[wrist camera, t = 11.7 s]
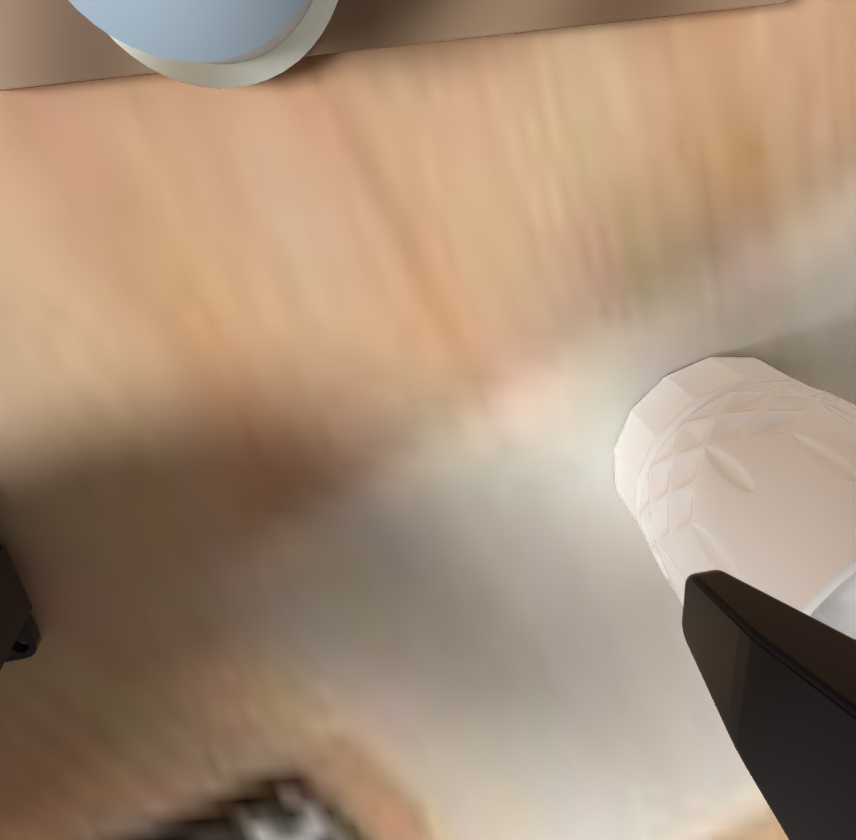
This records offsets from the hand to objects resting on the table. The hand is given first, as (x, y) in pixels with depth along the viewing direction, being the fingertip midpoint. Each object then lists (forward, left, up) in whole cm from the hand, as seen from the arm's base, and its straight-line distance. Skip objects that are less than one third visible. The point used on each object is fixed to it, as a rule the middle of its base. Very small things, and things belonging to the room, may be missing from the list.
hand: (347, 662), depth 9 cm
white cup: (+12, -6, -13) cm, 19 cm away
